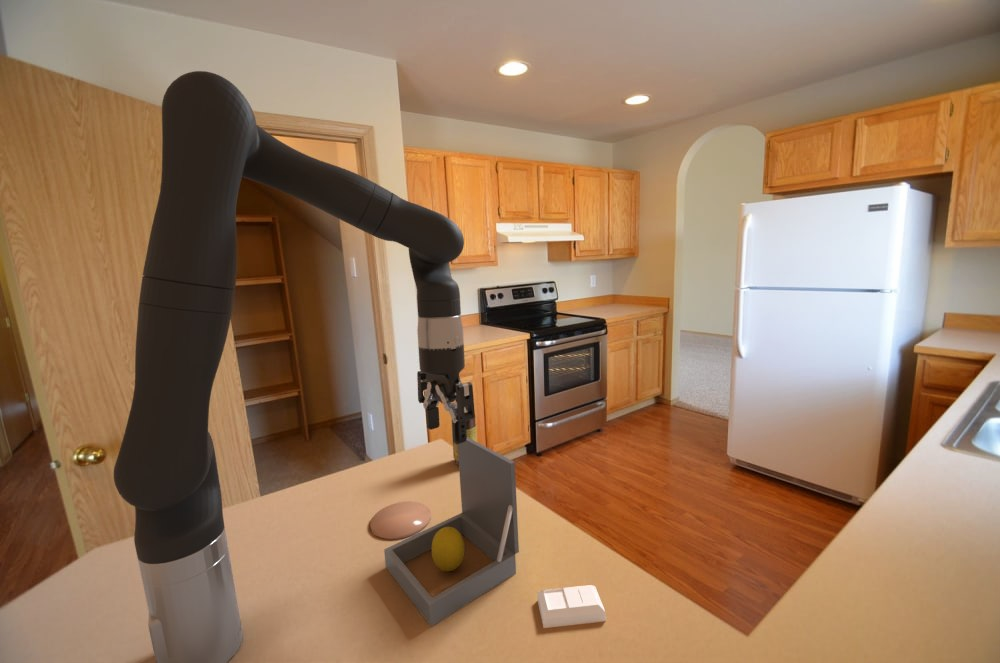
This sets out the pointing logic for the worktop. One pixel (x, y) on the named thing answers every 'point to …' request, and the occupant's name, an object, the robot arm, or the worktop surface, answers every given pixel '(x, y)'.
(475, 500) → the case
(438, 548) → the lemon
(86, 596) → the worktop surface
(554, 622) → the white rocker switch
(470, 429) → the sauce bottle
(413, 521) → the saucer
